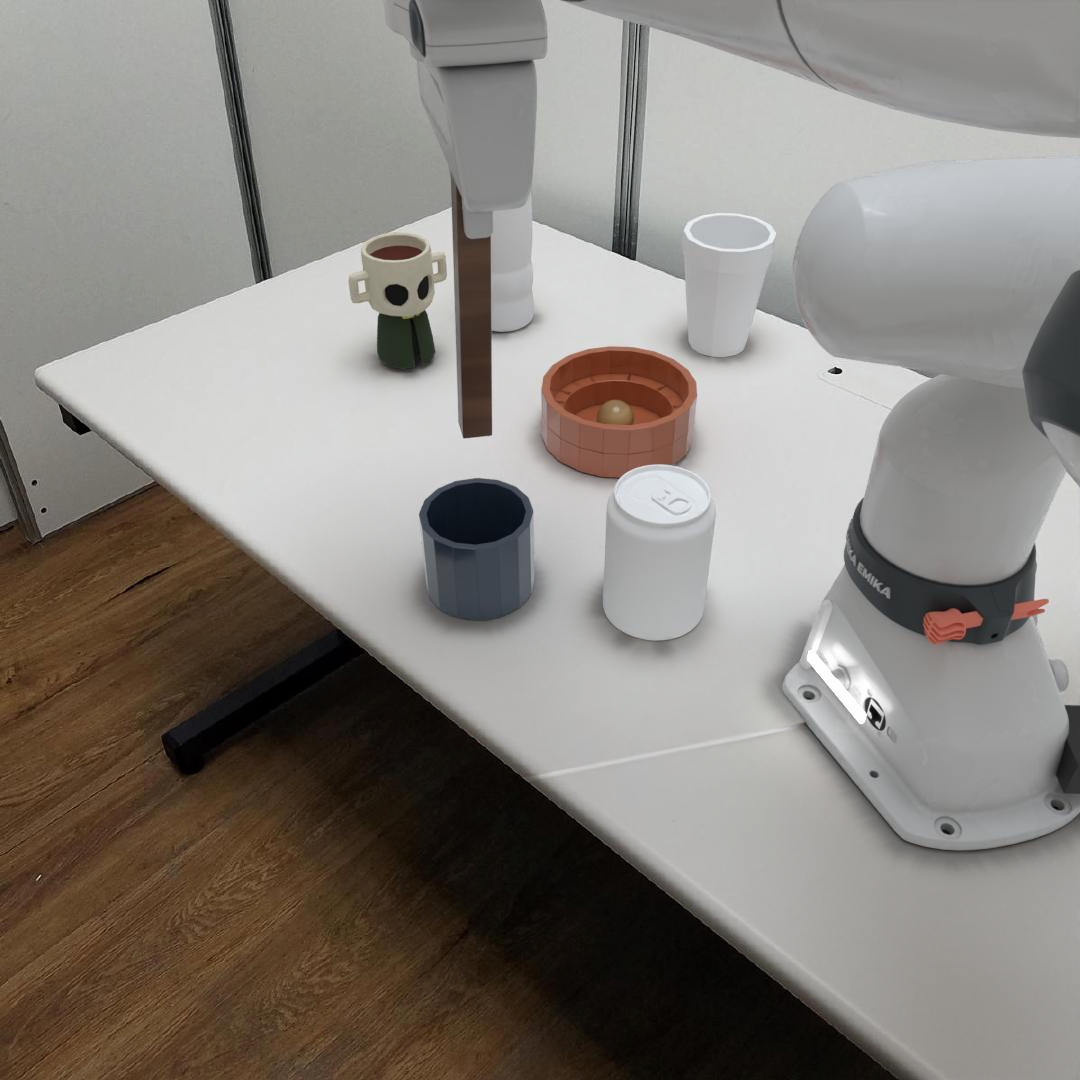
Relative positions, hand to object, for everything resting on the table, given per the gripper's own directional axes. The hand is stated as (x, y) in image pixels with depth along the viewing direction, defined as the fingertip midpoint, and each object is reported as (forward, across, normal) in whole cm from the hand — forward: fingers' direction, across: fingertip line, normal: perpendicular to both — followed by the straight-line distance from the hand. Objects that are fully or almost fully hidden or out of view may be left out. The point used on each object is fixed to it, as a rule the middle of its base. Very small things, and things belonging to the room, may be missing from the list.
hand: (472, 222), depth 69 cm
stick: (+16, 0, -1) cm, 16 cm away
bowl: (+31, -17, +16) cm, 39 cm away
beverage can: (+31, +7, +12) cm, 34 cm away
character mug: (+31, -37, -2) cm, 48 cm away
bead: (+29, -17, +16) cm, 37 cm away
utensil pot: (+31, +1, -1) cm, 31 cm away
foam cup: (+31, -32, +32) cm, 55 cm away
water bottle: (+31, -43, +10) cm, 54 cm away
